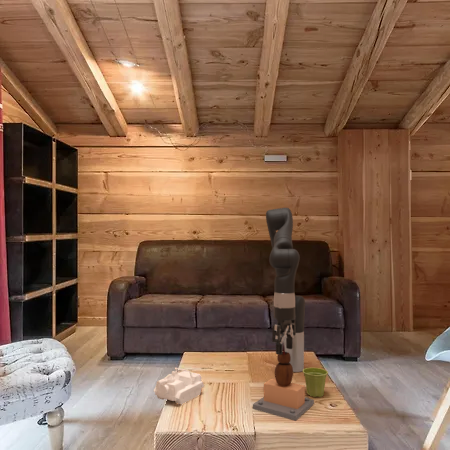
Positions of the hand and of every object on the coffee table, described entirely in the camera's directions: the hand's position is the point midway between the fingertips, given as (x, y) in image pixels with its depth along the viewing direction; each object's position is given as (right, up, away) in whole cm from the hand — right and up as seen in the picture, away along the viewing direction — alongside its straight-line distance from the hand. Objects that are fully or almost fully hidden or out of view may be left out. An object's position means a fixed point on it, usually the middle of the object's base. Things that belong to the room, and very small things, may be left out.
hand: (284, 351), depth 140 cm
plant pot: (+13, -20, +11) cm, 26 cm away
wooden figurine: (0, -12, 0) cm, 12 cm away
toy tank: (-39, -19, +6) cm, 44 cm away
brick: (0, -18, 0) cm, 18 cm away
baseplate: (0, -19, -1) cm, 19 cm away
